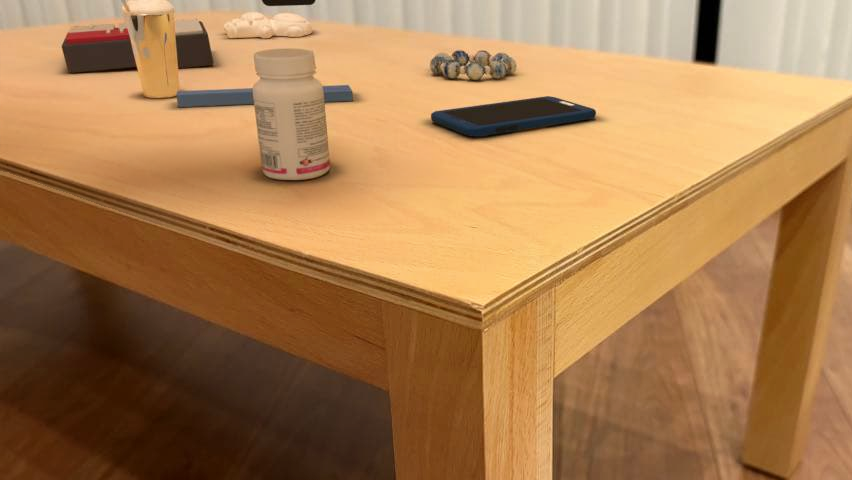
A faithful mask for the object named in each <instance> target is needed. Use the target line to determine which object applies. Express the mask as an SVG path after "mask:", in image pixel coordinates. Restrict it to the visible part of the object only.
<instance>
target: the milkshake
mask: <svg viewBox="0 0 852 480" xmlns="http://www.w3.org/2000/svg"><path fill="white" fill-rule="evenodd" d="M120 2H121V3H122V7H121V13H122V15H123V20H124V23H126V27H127V30H128V34H129V37H130V41H131V45H132V49H133V53H134V57H135V61H136V65H137V67H136V69H137V72H138V77H139V80H140V85H141V88H142V93H143V96H144V97H147V98H150V99H151V98H152V99H166V98H167V99H169V98H172V97H177V96H176V95H177V91H181V87H180V76H179V68H178V61H177V49H176V35H175V20H176V18H175V17H176V15H175V7H174V5H172V3H171V2H170V1H169V0H127V1H126V0H120Z"/></svg>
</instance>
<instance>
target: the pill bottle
mask: <svg viewBox="0 0 852 480" xmlns="http://www.w3.org/2000/svg"><path fill="white" fill-rule="evenodd" d="M253 61H254V70H255V73H256V76H257V77H259V80H257V81H256V82H255V83H254V84H253V85H252V88H253V99H254V104H253V107H254V115H255V122H256V123H255V125H256V131H257V139H258V140H257V141H258V146H259V154H260V163H261V168H262V169H261V170H262V173H263V174H264V175H265V176H266V177H268V178H269V179H274V180H280V181H305V180H310V179H316V178H319V177H321V176H324V175H325V174H326V173H328V171H329V170H330V169H331V159H330V147H329V136H328V126H327V125H328V124H327V115H326V105H325V102H324V93H323V87H322V86H323V84H322V82H321V81H320V80H319V79H317V78H315V77H314V75H316V74H317V71H316V70H317V65H316V60H315V52H314V51H313V50H310V49H305V48H304V49H303V48H271V49H264V50H259V51H256V52H254V53H253Z"/></svg>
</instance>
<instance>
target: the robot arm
mask: <svg viewBox="0 0 852 480" xmlns="http://www.w3.org/2000/svg"><path fill="white" fill-rule="evenodd" d="M261 2H262V4H263V5H265V6H266V7H286V6H287V7H291V6H311V5H314V4H315V3H316V0H261Z"/></svg>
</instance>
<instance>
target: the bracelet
mask: <svg viewBox="0 0 852 480" xmlns="http://www.w3.org/2000/svg"><path fill="white" fill-rule="evenodd" d="M429 68H430V71H431V72H432V74H435V75H437V76H438V75H439V76H441V75H443V76H444V77H446V78H447V79H450V80H453V79H456V78H458V77H459V76H460V75H466V77H467V78H468V79H470V80H472V81H479V80H480V79H482V78H483V77H484V76H485V75H486V76H487V75H489V76H490V77H492V78H494V79H502V78H504V77H505V76H506V75H512V74H514V73H515V72H516V70H517V62H516V60H515V58H513V56H509V55H508V54H507V53H505V52H498V53H496V54H495V55H491V53H490V52H489V51H488V50H484V49H481V50H478V51H477V52H476V53H475V54H474V55H473V54H469V53H467V52H466V51H464V50H462V49H458V50H455V51H453V52H452V54H451V55H449V54H448V53H447V52H438V53H437V54H435V55H434V57H433V58H431V59H430V62H429Z"/></svg>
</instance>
